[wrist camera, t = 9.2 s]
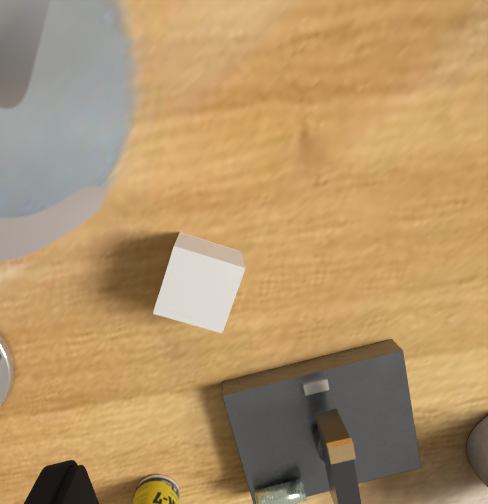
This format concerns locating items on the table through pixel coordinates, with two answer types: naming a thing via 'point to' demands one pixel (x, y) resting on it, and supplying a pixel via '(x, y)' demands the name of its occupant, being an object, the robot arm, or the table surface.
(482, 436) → the pillar candle
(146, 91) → the table surface
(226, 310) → the white cube
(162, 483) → the supplement bottle
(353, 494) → the wing knob
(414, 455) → the base
